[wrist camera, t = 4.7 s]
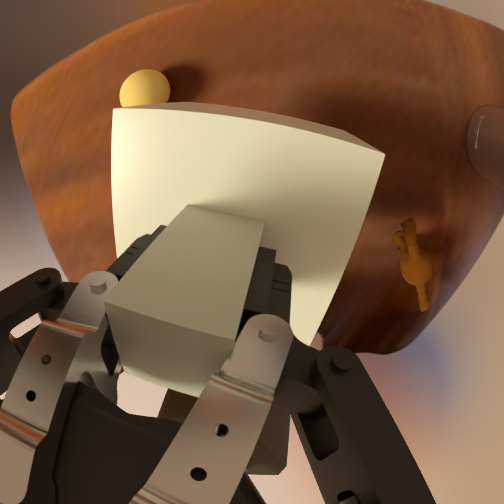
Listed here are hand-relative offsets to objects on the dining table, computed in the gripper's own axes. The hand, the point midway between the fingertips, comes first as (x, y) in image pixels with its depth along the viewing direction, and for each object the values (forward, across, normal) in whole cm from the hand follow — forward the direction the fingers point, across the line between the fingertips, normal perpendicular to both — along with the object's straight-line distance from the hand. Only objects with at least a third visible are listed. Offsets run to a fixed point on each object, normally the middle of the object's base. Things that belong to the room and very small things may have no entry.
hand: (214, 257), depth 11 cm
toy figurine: (+19, -18, +5) cm, 26 cm away
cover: (+10, 0, 0) cm, 10 cm away
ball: (+16, +12, -6) cm, 21 cm away
